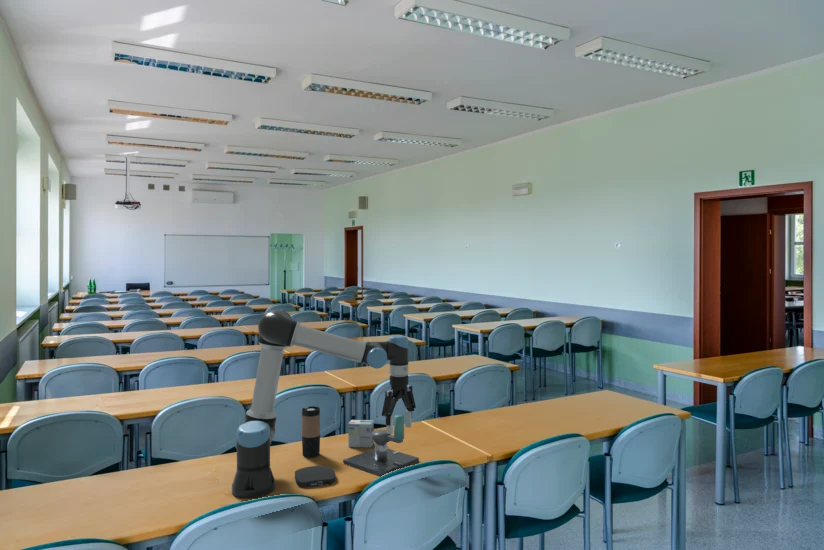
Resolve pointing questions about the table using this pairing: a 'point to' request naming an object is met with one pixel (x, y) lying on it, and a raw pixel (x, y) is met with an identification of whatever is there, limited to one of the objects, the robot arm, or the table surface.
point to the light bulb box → (360, 433)
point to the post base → (380, 465)
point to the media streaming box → (315, 476)
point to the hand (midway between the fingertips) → (399, 430)
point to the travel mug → (311, 431)
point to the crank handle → (384, 437)
